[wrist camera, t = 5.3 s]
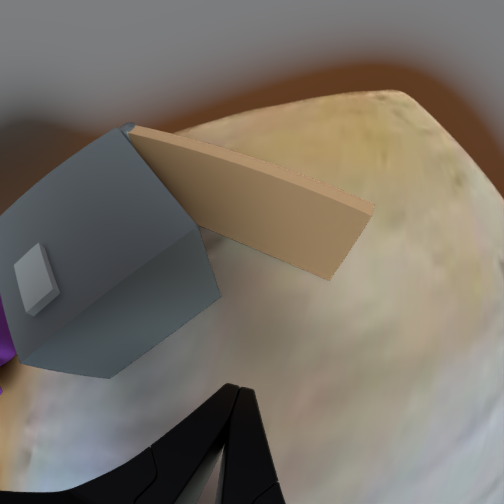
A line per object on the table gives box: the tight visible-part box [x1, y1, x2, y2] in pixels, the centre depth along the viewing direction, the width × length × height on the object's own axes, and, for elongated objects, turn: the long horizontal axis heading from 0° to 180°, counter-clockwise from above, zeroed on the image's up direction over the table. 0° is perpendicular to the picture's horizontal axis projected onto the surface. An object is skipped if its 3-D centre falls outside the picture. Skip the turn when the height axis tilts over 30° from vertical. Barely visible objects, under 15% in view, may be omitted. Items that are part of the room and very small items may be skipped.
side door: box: [119, 122, 375, 281], centre depth 19 cm, size 17×2×9 cm, turn 64°
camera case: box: [0, 127, 221, 379], centre depth 17 cm, size 11×11×11 cm
